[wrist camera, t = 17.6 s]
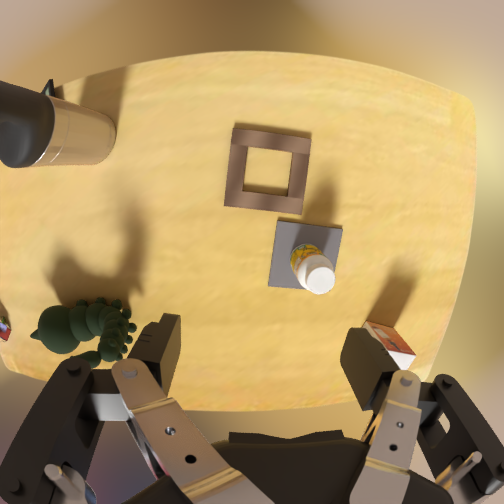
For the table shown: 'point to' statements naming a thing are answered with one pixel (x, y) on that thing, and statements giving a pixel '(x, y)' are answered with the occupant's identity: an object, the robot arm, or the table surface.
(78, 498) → the robot arm
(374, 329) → the small box
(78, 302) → the toy figurine
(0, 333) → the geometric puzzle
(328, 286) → the supplement bottle
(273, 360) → the table surface
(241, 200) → the walnut dock
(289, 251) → the charcoal mat
